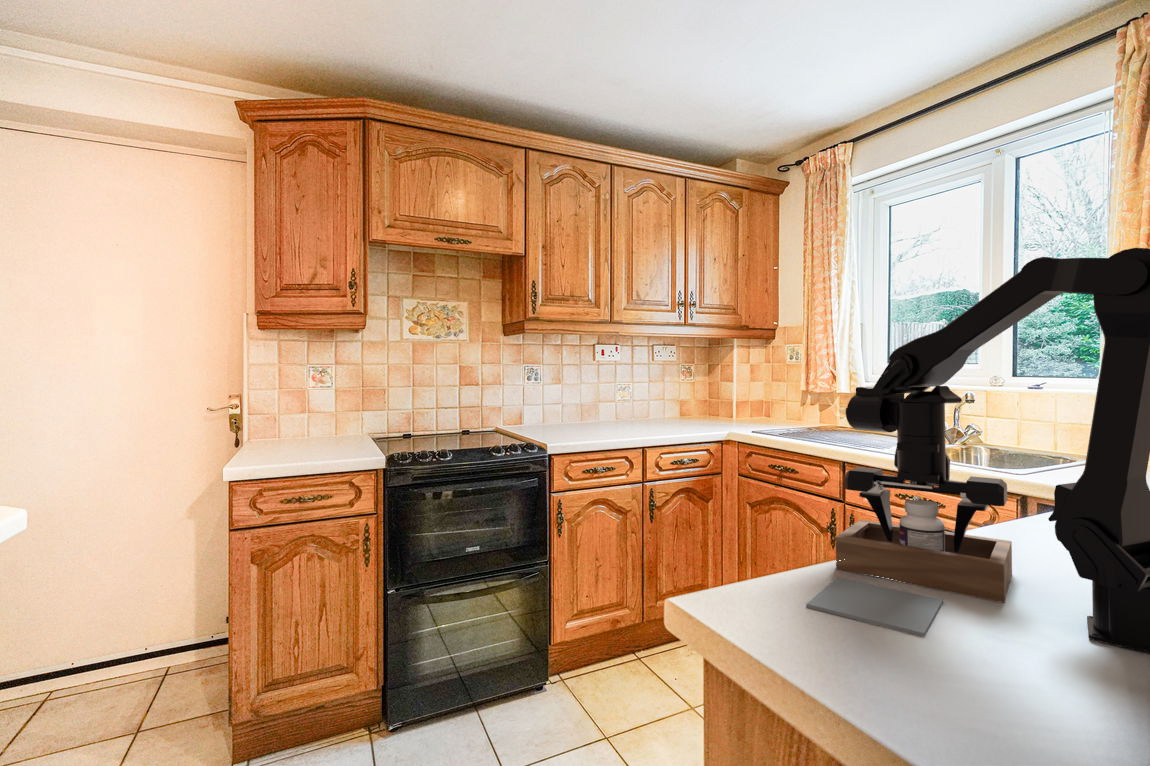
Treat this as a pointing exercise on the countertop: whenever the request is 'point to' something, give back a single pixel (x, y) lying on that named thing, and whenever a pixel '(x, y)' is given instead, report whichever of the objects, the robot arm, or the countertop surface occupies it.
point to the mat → (878, 605)
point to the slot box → (928, 561)
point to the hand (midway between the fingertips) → (922, 546)
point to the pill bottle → (922, 526)
